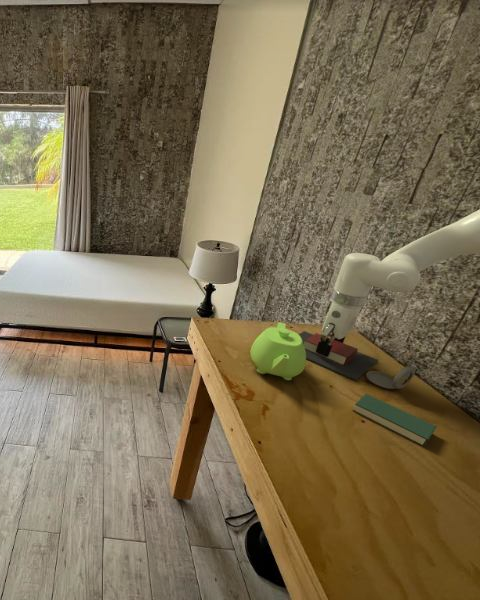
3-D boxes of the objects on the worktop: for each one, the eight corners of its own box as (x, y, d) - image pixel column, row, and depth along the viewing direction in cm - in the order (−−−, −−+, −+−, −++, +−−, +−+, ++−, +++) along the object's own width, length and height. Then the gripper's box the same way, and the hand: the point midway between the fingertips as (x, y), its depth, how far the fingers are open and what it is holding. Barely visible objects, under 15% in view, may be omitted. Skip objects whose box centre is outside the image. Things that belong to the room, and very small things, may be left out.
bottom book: (432, 433, 69) (437, 426, 69) (423, 447, 66) (428, 439, 65) (362, 400, 79) (365, 393, 78) (352, 410, 76) (355, 403, 75)
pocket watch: (364, 371, 89) (378, 341, 85) (405, 382, 85) (421, 351, 80) (366, 387, 83) (381, 355, 79) (410, 400, 79) (428, 367, 74)
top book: (354, 357, 94) (358, 348, 93) (344, 366, 90) (347, 357, 89) (313, 340, 102) (316, 332, 101) (302, 348, 99) (305, 340, 97)
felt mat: (377, 361, 93) (378, 359, 93) (355, 381, 85) (356, 379, 85) (303, 332, 108) (304, 330, 108) (279, 347, 100) (279, 345, 100)
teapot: (304, 397, 80) (319, 356, 75) (246, 381, 86) (256, 342, 81) (298, 355, 96) (310, 319, 91) (249, 345, 102) (257, 310, 97)
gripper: (351, 310, 81) (330, 365, 89) (376, 294, 90) (355, 345, 97) (318, 300, 87) (301, 353, 95) (345, 286, 96) (327, 335, 103)
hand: (328, 349), depth 96 cm, fingers open, 8 cm apart
